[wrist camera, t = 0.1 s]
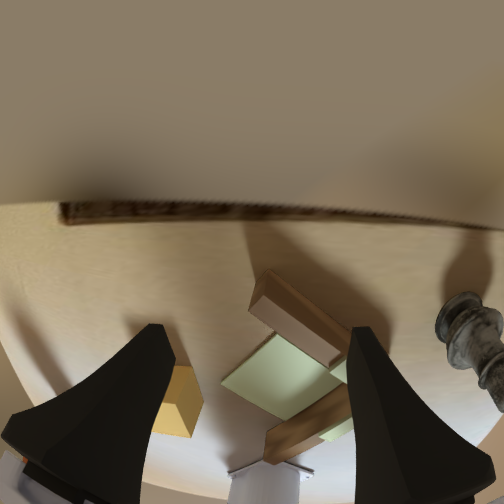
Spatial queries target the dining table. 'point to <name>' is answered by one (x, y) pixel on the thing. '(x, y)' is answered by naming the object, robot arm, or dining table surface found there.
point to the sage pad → (281, 378)
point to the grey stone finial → (474, 341)
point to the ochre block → (180, 404)
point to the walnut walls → (319, 347)
